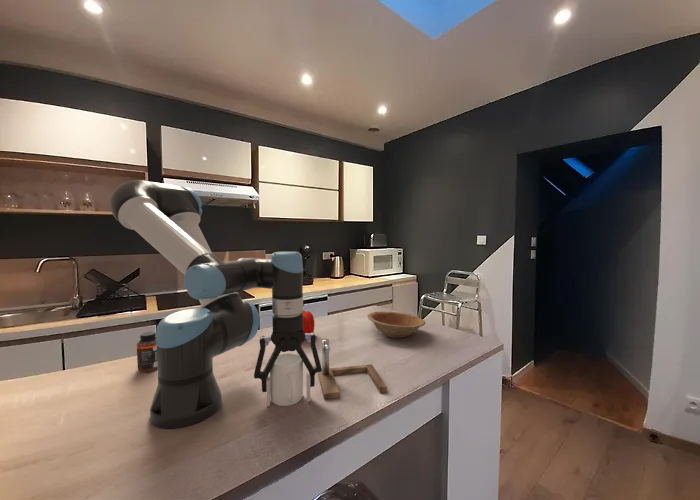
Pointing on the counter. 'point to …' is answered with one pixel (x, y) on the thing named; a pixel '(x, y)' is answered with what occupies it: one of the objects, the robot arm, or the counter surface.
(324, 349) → the hook post
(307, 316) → the red lobed round piece
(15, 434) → the counter surface
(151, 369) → the supplement bottle
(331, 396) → the brown wooden u-shaped piece
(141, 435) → the counter surface
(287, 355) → the mug
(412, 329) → the bowl
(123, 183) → the robot arm
